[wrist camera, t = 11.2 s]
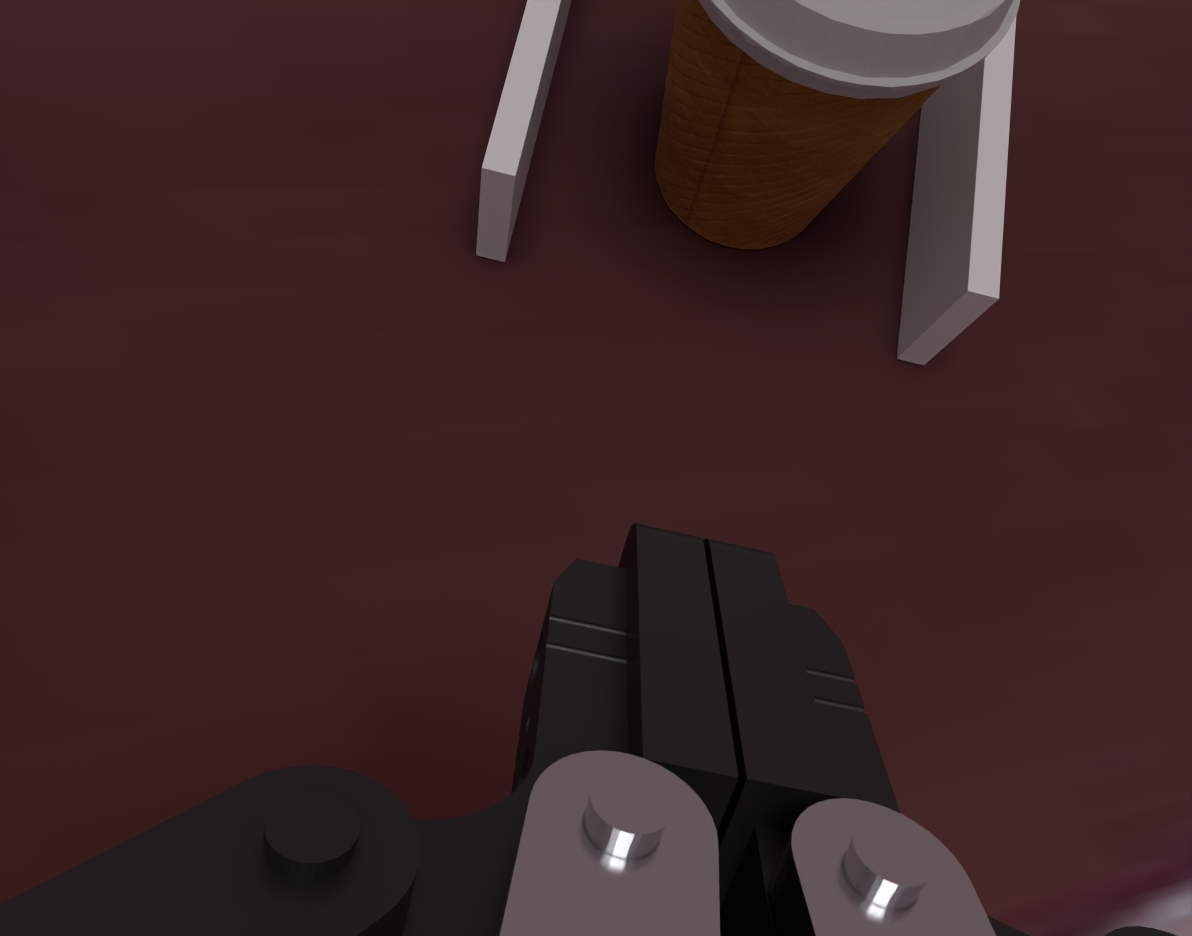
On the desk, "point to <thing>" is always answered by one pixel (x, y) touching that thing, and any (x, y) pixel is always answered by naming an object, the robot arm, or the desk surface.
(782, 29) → the disposable coffee cup
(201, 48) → the desk surface
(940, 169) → the grey bay
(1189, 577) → the desk surface
